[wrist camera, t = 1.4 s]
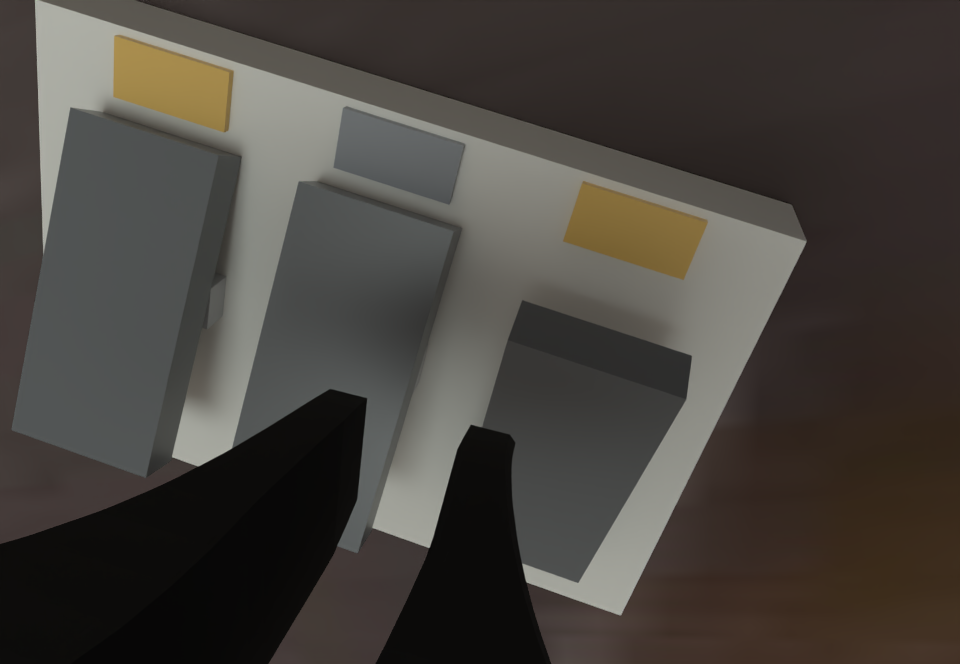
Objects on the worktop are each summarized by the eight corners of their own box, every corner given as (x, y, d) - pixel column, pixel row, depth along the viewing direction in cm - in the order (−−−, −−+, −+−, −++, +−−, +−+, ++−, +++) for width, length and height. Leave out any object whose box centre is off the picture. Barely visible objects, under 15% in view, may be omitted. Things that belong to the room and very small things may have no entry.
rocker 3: (692, 355, 16) (686, 399, 15) (586, 544, 22) (578, 583, 21) (522, 299, 16) (507, 339, 15) (462, 501, 22) (449, 537, 21)
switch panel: (791, 204, 19) (812, 255, 16) (625, 555, 25) (619, 637, 22) (103, -10, 20) (9, 2, 17) (100, 372, 26) (30, 428, 23)
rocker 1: (241, 156, 19) (218, 155, 18) (171, 460, 21) (145, 478, 19) (102, 111, 19) (70, 107, 18) (43, 416, 21) (11, 429, 20)
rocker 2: (462, 228, 18) (454, 231, 17) (371, 531, 20) (357, 553, 19) (317, 181, 19) (298, 181, 17) (239, 485, 20) (218, 503, 19)
